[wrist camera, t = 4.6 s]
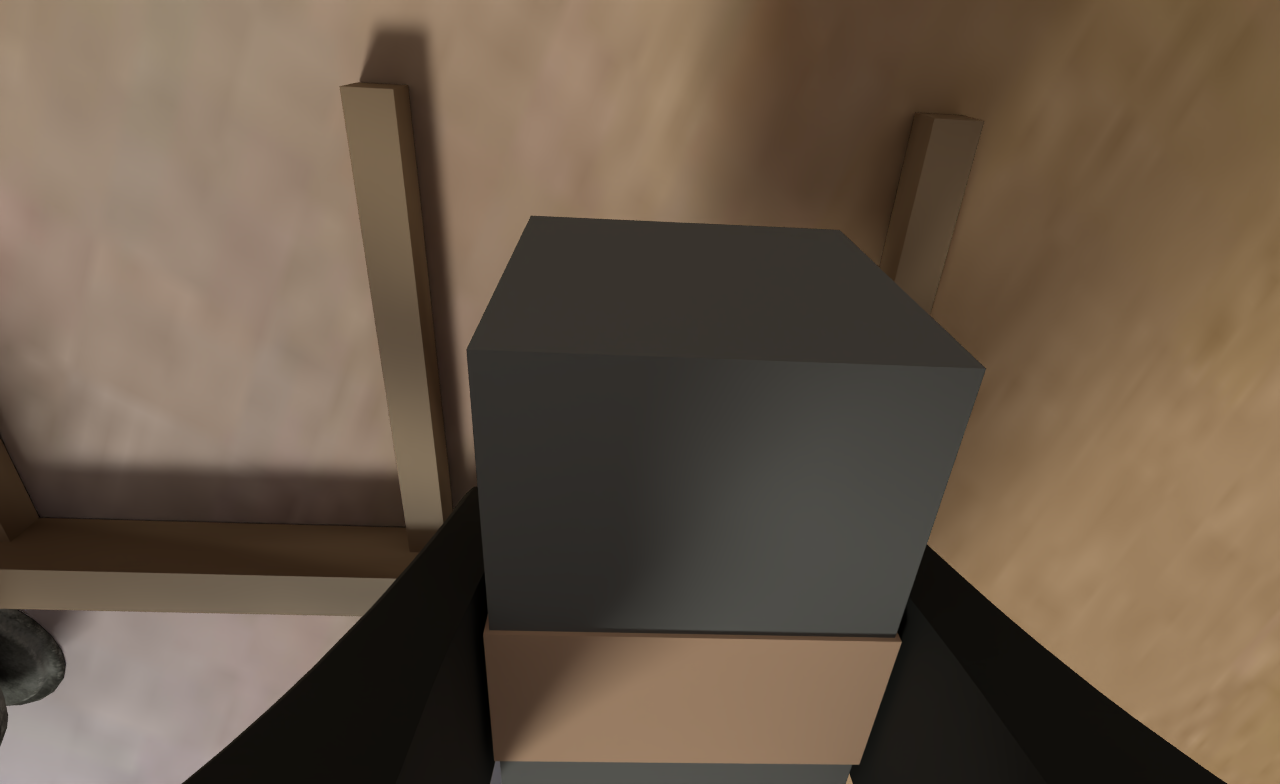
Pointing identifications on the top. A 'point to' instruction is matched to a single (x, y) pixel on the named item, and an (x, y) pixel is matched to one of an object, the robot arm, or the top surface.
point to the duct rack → (398, 277)
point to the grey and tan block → (701, 497)
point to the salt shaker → (26, 662)
